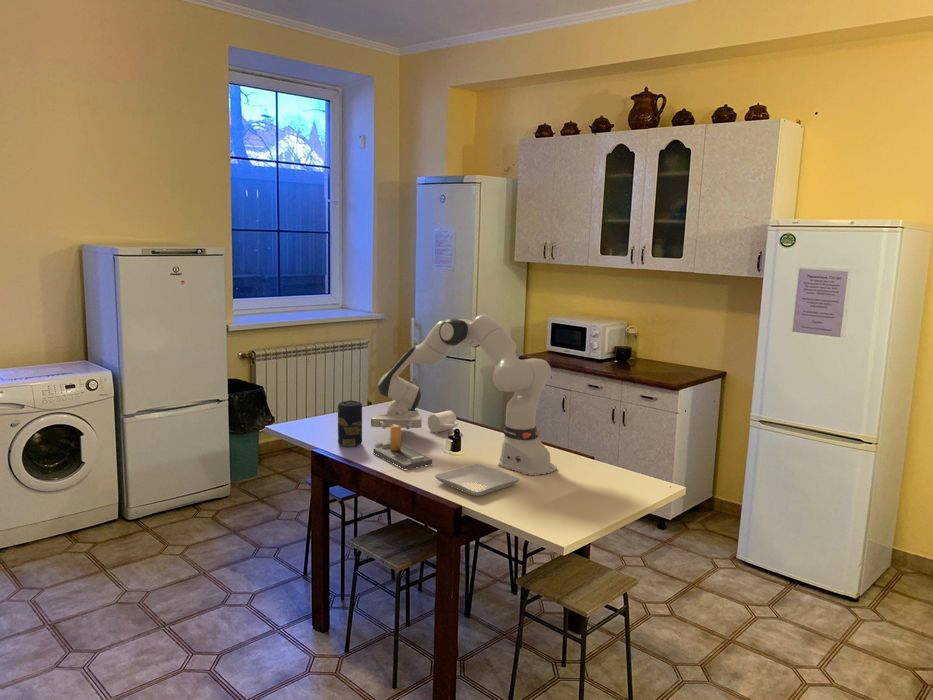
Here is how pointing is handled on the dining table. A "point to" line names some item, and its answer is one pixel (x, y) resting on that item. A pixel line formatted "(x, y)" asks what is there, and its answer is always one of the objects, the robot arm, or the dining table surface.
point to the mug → (442, 421)
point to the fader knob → (395, 437)
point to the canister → (349, 423)
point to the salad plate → (477, 478)
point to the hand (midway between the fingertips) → (395, 426)
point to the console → (403, 456)
